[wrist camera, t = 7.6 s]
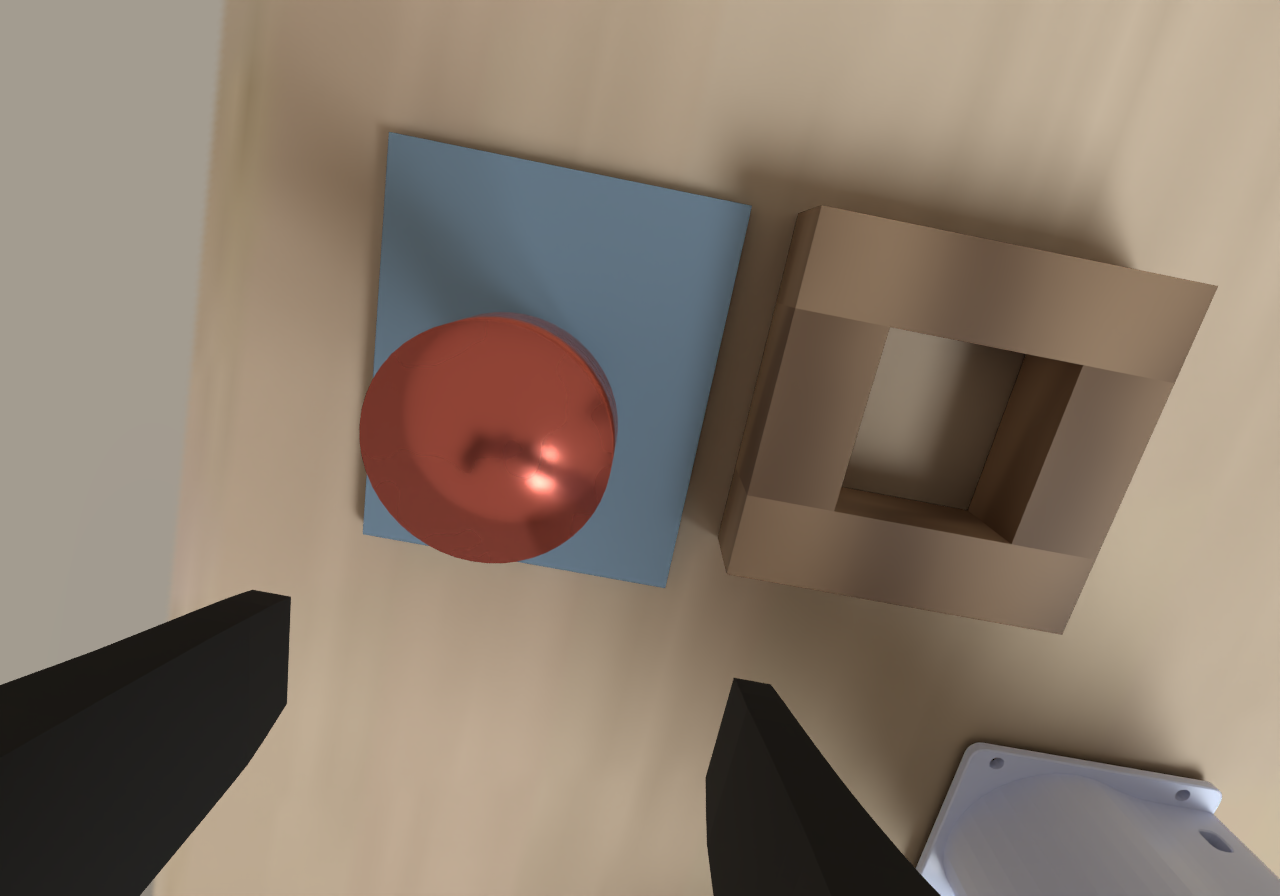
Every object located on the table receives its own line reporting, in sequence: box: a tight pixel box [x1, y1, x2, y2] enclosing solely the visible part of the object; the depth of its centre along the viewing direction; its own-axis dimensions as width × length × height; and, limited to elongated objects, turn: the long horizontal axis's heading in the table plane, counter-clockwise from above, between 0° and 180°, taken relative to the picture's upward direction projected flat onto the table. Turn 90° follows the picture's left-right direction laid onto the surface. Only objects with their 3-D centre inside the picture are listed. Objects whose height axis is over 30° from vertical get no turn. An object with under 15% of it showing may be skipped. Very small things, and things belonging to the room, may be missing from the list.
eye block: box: [718, 205, 1218, 635], centre depth 18 cm, size 10×10×2 cm
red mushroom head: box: [360, 312, 618, 563], centre depth 15 cm, size 5×5×7 cm
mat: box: [363, 132, 752, 588], centre depth 19 cm, size 10×12×1 cm
